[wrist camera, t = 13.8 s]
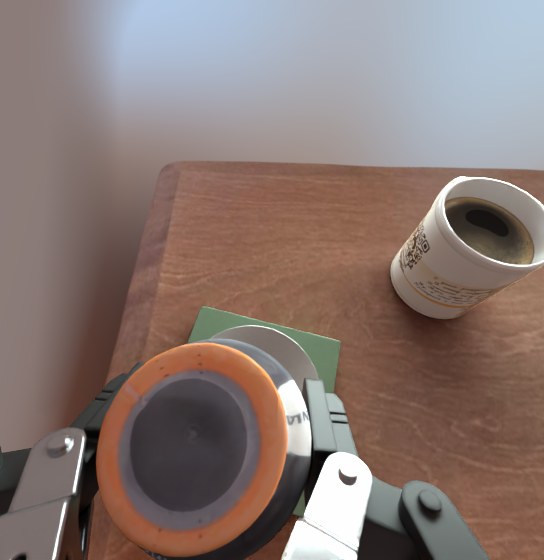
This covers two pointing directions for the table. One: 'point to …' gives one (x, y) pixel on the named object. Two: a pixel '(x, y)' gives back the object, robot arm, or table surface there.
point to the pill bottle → (205, 452)
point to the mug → (469, 247)
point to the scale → (275, 349)
